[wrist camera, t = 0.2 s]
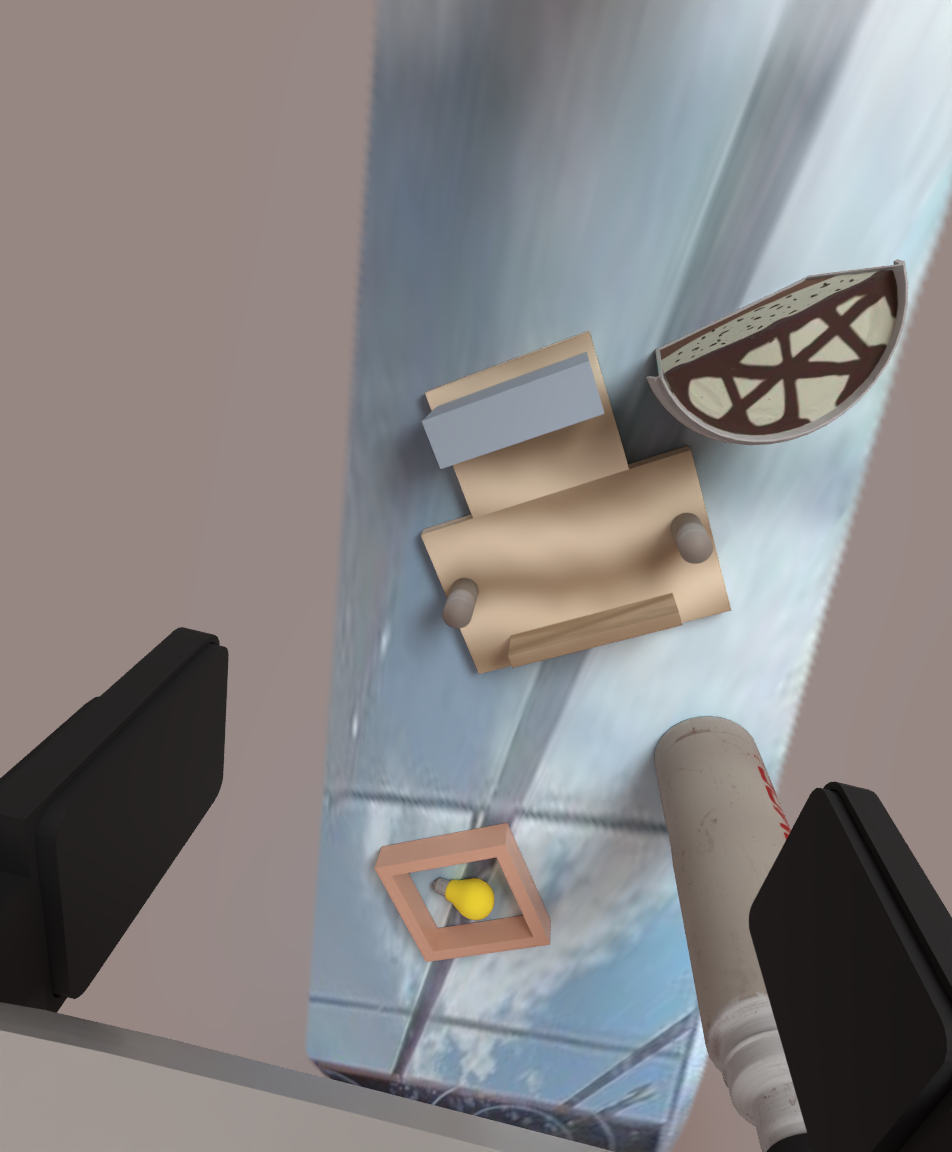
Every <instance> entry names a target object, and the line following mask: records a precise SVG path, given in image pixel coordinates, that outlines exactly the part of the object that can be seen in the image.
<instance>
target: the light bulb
mask: <svg viewBox="0 0 952 1152" xmlns="http://www.w3.org/2000/svg"><path fill="white" fill-rule="evenodd" d="M433 888H434V891H435V892H436V893H438V894H441V895H443V896H445V897H446V899H447V900H448V901H450V902H451V903H453V905H454V906H455V907H456V908H457V910H458V911H459V912H460V913H461V914H462V915H463V916H465V917H466V918H468V919H471V920H482V919H484V918H485V917H487V916H488V915H489V913H490V912H491V911H492V909H493V906H494V893H493V890H492V888H491V887H490V886H489V885H488V884H487V883H486V882H484V881H482V880H481V879H477V878H470V879H465V880H454V879H453V880H451V881H448V880H446V879H443V878H441V877H440V878H438V879H437V880H435V881H434V882H433Z"/></svg>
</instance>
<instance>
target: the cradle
mask: <svg viewBox="0 0 952 1152" xmlns="http://www.w3.org/2000/svg"><path fill="white" fill-rule="evenodd" d="M584 352H587V355H588V358H589V362H590V365H591V368H592V372H593V375H594V379H595V382H596V386H597V389H598V392H599V396H600V399H601V403H602V406H603V410H604V414H602V415H599V416H596V417H593V418H590V419H587V420H584V421H581V422H578V423H576V424H573V425H570V426H567V427H564V428H561V429H558V430H555V431H552V432H549V433H546V434H543V435H540V436H537V437H534V438H531V439H528V440H525V441H522V442H519V443H517V444H514V445H511V446H508V447H505V448H502V449H499V450H496V451H493V452H490V453H487V454H484V455H481V456H478V457H475V458H472V459H469V460H466V461H463V462H461V463H458V464H455V465H453V468H454V470H455V473H456V475H457V478H458V481H459V483H460V486H461V488H462V491H463V493H464V496H465V499H466V501H467V504H468V506H469V509H470V512H471V515H467V516H464V517H461V518H458V519H455V520H452V521H448V522H445V523H442V524H439V525H436V526H433V527H430V528H426V529H424V530H423V532H422V534H421V537H422V539H423V541H424V544H425V546H426V549H427V551H428V553H429V556H430V558H431V560H432V563H433V565H434V568H435V570H436V572H437V575H438V577H439V580H440V582H441V584H442V587H443V589H444V592H445V594H446V596H447V601H446V604H445V606H444V609H443V613H442V616H443V619H444V621H445V623H446V624H447V625H449V626H450V627H453V628H460V630H461V632H462V634H463V637H464V639H465V642H466V644H467V646H468V649H469V651H470V654H471V656H472V658H473V661H474V663H475V666H476V668H477V670H478V673H479V674H481V673H485V672H489V671H493V670H497V669H501V668H505V667H509V666H512V668H513V667H517V666H521V665H525V664H529V663H533V662H537V661H541V660H545V659H549V658H553V657H557V656H561V655H565V654H569V653H573V652H577V651H581V650H585V649H589V648H593V647H597V646H601V645H605V644H609V643H613V642H617V641H621V640H625V639H629V638H633V637H637V636H641V635H645V634H649V633H653V632H657V631H661V630H665V629H669V628H673V627H677V626H681V625H682V623H683V622H687V621H691V620H695V619H699V618H703V617H707V616H711V615H715V614H719V613H723V612H727V611H731V608H730V604H729V600H728V596H727V592H726V588H725V584H724V580H723V576H722V572H721V568H720V564H719V560H718V556H717V552H716V548H715V544H714V540H713V536H712V532H711V528H710V524H709V520H708V516H707V512H706V508H705V504H704V500H703V496H702V492H701V488H700V484H699V480H698V476H697V472H696V468H695V464H694V460H693V456H692V452H691V449H690V448H689V447H688V446H685V447H682V448H679V449H676V450H672V451H669V452H666V453H663V454H660V455H657V456H653V457H650V458H647V459H644V460H641V461H638V462H635V463H631V464H628V463H627V460H626V456H625V453H624V449H623V446H622V443H621V439H620V436H619V432H618V429H617V425H616V422H615V418H614V415H613V411H612V408H611V404H610V401H609V397H608V394H607V390H606V387H605V383H604V380H603V377H602V373H601V370H600V366H599V363H598V359H597V356H596V352H595V349H594V345H593V342H592V338H591V335H590V332H589V331H587V332H584V333H581V334H579V335H576V336H573V337H571V338H568V339H565V340H563V341H560V342H557V343H555V344H552V345H549V346H546V347H544V348H541V349H538V350H536V351H533V352H530V353H528V354H525V355H522V356H520V357H517V358H514V359H512V360H509V361H506V362H504V363H501V364H498V365H496V366H493V367H490V368H487V369H485V370H482V371H479V372H477V373H474V374H471V375H469V376H466V377H463V378H461V379H458V380H455V381H453V382H450V383H447V384H445V385H442V386H439V387H437V388H434V389H431V390H429V391H427V392H426V393H425V395H426V397H427V400H428V403H429V405H430V408H431V410H432V411H433V410H434V409H435V408H436V407H437V406H439V405H442V404H445V403H447V402H450V401H453V400H456V399H458V398H461V397H464V396H467V395H469V394H472V393H475V392H478V391H480V390H483V389H486V388H488V387H491V386H494V385H497V384H499V383H502V382H505V381H508V380H510V379H513V378H516V377H519V376H521V375H524V374H527V373H530V372H532V371H535V370H538V369H540V368H543V367H546V366H549V365H551V364H554V363H557V362H560V361H562V360H565V359H568V358H571V357H573V356H576V355H579V354H582V353H584Z"/></svg>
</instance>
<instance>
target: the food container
mask: <svg viewBox="0 0 952 1152" xmlns="http://www.w3.org/2000/svg"><path fill="white" fill-rule="evenodd" d="M907 304H908V280H907V273H906V267H905V262H904V261H901V260H898V259H897V260H895V261H894V265H890V266H882V267H874V268H866V269H858V270H850V271H842V272H834V273H826V274H818V275H810V276H807V277H805V278H803V279H801V280H799V281H797V282H795V283H793V284H791V285H789V286H786V287H784V288H782V289H780V290H778V291H776V292H774V293H772V294H770V295H768V296H766V297H764V298H761V299H759V300H757V301H755V302H753V303H751V304H749V305H747V306H745V307H743V308H741V309H739V310H736V311H734V312H732V313H730V314H728V315H726V316H724V317H722V318H720V319H718V320H716V321H714V322H711V323H709V324H707V325H705V326H703V327H701V328H699V329H697V330H695V331H693V332H691V333H689V334H686V335H684V336H682V337H680V338H678V339H676V340H674V341H672V342H670V343H668V344H666V345H663V346H661V347H659V348H657V349H655V351H656V359H657V366H658V373H659V376H657V377H653V376H648V377H646V379H647V381H648V383H649V384H650V386H651V388H652V390H653V392H654V394H655V395H656V397H657V398H658V399H659V401H660V402H661V404H662V405H663V406H664V408H665V409H666V410H667V411H668V412H669V413H671V414H672V415H673V416H674V417H675V418H676V419H677V420H678V421H679V422H681V423H682V424H684V425H685V426H687V427H688V428H690V429H691V430H693V431H695V432H697V433H699V434H701V435H704V436H706V437H708V438H711V439H715V440H719V441H722V442H726V443H736V444H745V445H761V444H773V443H779V442H784V441H789V440H792V439H795V438H798V437H801V436H804V435H807V434H809V433H812V432H814V431H816V430H818V429H820V428H822V427H824V426H826V425H827V424H829V423H830V422H832V421H833V420H835V419H836V418H838V417H839V416H841V415H842V414H844V413H845V412H846V411H847V410H849V409H850V408H851V407H852V406H853V405H854V404H855V403H857V402H858V401H859V400H860V399H861V398H862V397H863V396H864V395H865V393H866V392H867V391H868V390H869V389H870V388H871V387H872V385H873V384H874V383H875V382H876V381H877V379H878V378H879V376H880V375H881V373H882V372H883V370H884V369H885V367H886V366H887V364H888V363H889V360H890V358H891V356H892V354H893V352H894V350H895V348H896V346H897V344H898V341H899V338H900V335H901V332H902V329H903V326H904V322H905V316H906V310H907Z"/></svg>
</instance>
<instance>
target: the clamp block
mask: <svg viewBox="0 0 952 1152" xmlns="http://www.w3.org/2000/svg"><path fill="white" fill-rule="evenodd" d="M602 414H604V410H603V406H602V403H601V399H600V396H599V392H598V389H597V386H596V382H595V379H594V375H593V372H592V368H591V365H590V362H589V358H588V355H587V352H584V353H582V354H579V355H576V356H573V357H571V358H568V359H565V360H562V361H560V362H557V363H554V364H551V365H549V366H546V367H543V368H540V369H538V370H535V371H532V372H530V373H527V374H524V375H521V376H519V377H516V378H513V379H510V380H508V381H505V382H502V383H499V384H497V385H494V386H491V387H488V388H486V389H483V390H480V391H478V392H475V393H472V394H469V395H467V396H464V397H461V398H458V399H456V400H453V401H450V402H447V403H445V404H442V405H439V406H437V407H436V408H435V409H434V410H433V411H432V412H431V413H430V414H429V415H428V416H427V417H426V418H424V419H423V420H422V424H423V426H424V429H425V431H426V434H427V436H428V439H429V441H430V444H431V447H432V449H433V452H434V454H435V457H436V459H437V462H438V464H439V467H440V469H443V468H446V467H449V466H452V465H455V464H458V463H461V462H463V461H466V460H469V459H472V458H475V457H478V456H481V455H484V454H487V453H490V452H493V451H496V450H499V449H502V448H505V447H508V446H511V445H514V444H517V443H519V442H522V441H525V440H528V439H531V438H534V437H537V436H540V435H543V434H546V433H549V432H552V431H555V430H558V429H561V428H564V427H567V426H570V425H573V424H576V423H578V422H581V421H584V420H587V419H590V418H593V417H596V416H599V415H602Z"/></svg>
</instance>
